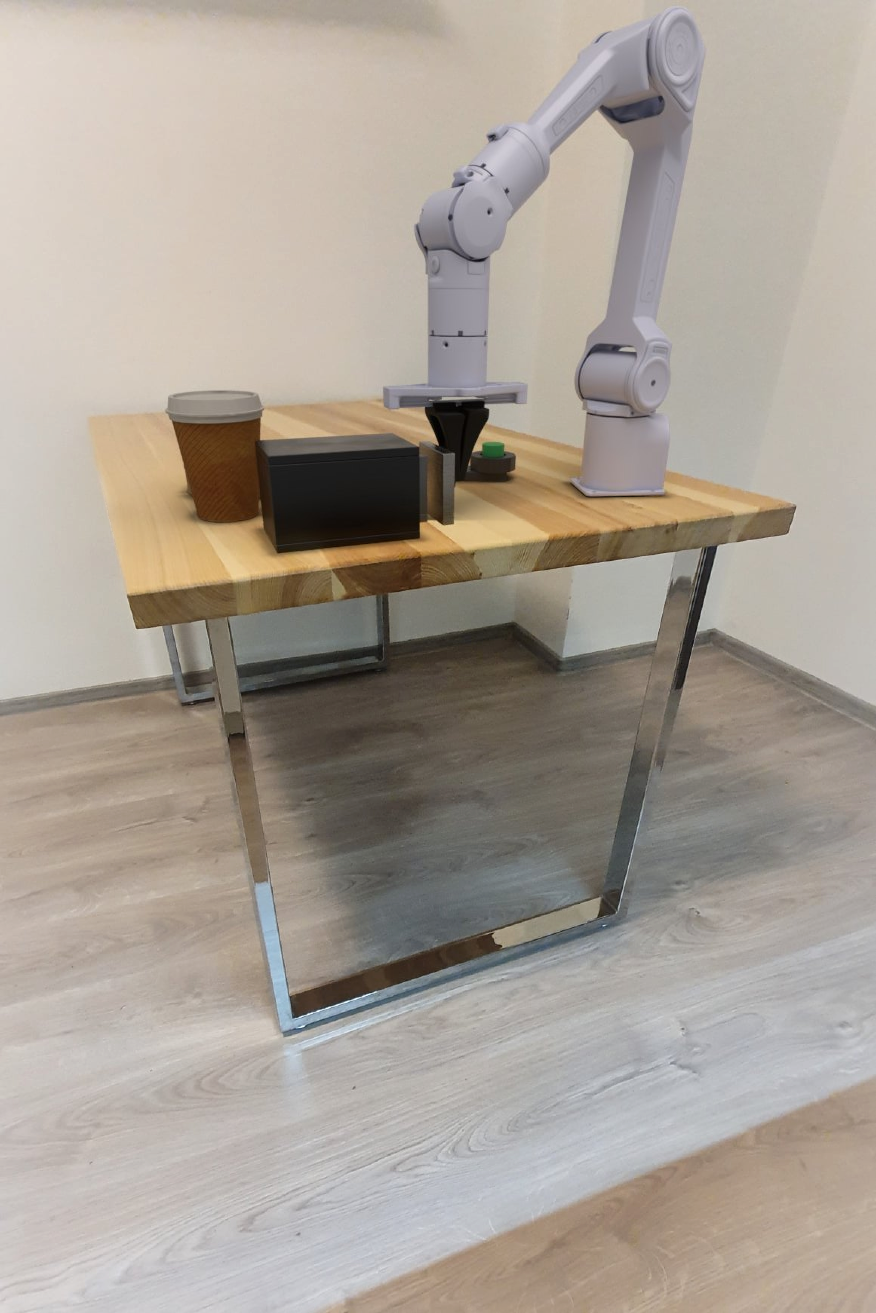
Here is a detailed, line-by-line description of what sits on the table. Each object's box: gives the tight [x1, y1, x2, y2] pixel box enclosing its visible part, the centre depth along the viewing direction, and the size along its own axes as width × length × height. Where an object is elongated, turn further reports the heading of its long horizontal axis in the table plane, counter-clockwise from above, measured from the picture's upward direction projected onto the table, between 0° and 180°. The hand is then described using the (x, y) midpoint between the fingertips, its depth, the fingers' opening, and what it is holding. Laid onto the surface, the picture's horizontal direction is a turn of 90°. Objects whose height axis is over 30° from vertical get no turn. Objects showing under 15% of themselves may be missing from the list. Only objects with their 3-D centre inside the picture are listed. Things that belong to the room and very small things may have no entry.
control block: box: [464, 450, 517, 482], centre depth 93 cm, size 10×6×3 cm, turn 90°
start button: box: [481, 441, 505, 457], centre depth 92 cm, size 3×3×2 cm
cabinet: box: [255, 432, 421, 554], centre depth 69 cm, size 14×8×9 cm, turn 110°
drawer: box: [418, 440, 457, 526], centre depth 70 cm, size 14×7×7 cm, turn 110°
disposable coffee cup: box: [164, 389, 265, 523], centre depth 74 cm, size 10×10×12 cm
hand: (455, 479), depth 75 cm, fingers closed
